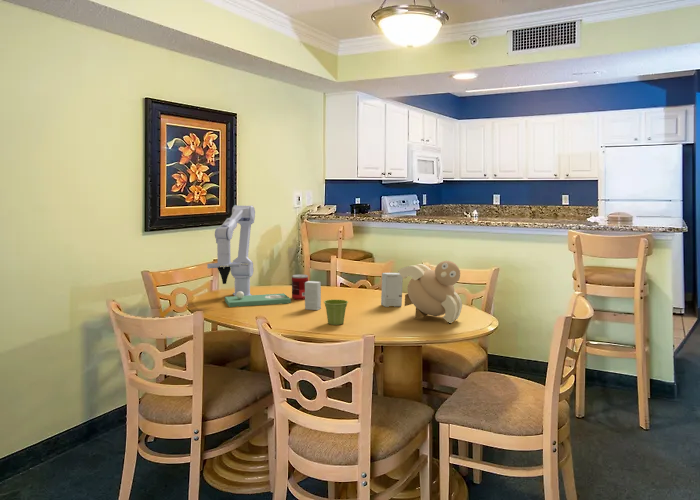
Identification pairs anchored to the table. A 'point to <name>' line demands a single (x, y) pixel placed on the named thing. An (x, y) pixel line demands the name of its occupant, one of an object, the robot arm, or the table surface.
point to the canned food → (299, 286)
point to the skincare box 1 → (312, 295)
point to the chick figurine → (433, 290)
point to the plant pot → (335, 311)
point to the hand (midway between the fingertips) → (224, 283)
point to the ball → (240, 295)
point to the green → (257, 300)
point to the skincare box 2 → (391, 289)
